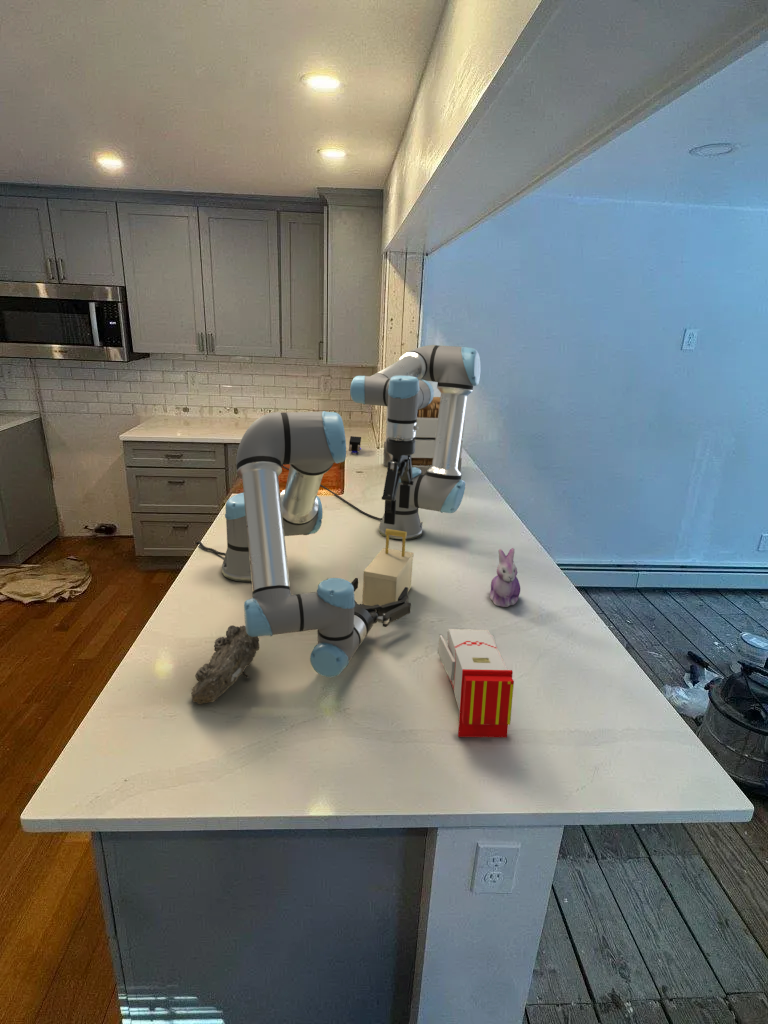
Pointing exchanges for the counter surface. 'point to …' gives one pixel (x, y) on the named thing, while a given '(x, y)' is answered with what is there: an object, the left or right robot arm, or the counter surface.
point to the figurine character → (354, 444)
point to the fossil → (225, 664)
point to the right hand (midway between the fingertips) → (396, 515)
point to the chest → (385, 588)
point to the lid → (390, 560)
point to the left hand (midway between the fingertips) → (381, 587)
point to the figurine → (505, 581)
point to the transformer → (424, 436)
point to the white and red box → (478, 682)
